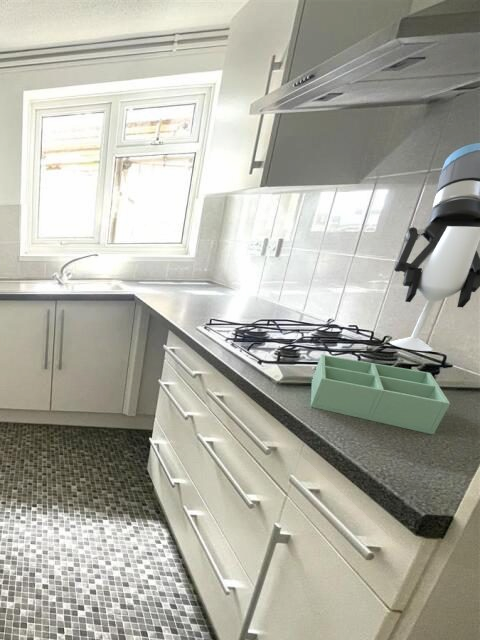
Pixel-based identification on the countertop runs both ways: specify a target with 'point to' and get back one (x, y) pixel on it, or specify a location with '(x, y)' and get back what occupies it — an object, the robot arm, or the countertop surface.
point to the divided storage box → (378, 393)
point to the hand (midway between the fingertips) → (436, 300)
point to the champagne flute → (443, 276)
